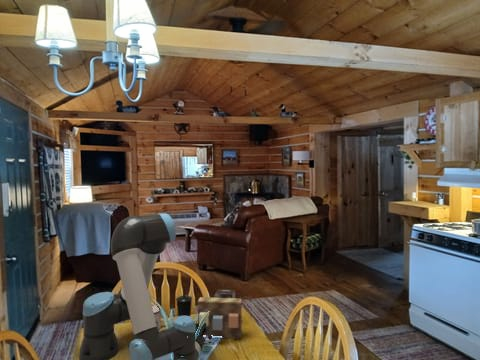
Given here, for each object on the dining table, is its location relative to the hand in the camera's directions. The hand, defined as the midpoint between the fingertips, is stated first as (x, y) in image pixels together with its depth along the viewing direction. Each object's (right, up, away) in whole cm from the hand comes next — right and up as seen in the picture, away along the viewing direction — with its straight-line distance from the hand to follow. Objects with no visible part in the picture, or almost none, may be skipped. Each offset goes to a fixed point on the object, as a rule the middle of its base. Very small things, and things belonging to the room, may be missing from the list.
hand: (203, 321), depth 153 cm
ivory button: (0, -2, +4) cm, 5 cm away
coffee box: (+9, -9, +17) cm, 21 cm away
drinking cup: (-11, -9, +14) cm, 20 cm away
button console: (+7, -9, +6) cm, 13 cm away
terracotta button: (+13, -2, +3) cm, 14 cm away
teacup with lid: (-25, -9, +14) cm, 29 cm away
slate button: (+6, -2, +1) cm, 7 cm away
